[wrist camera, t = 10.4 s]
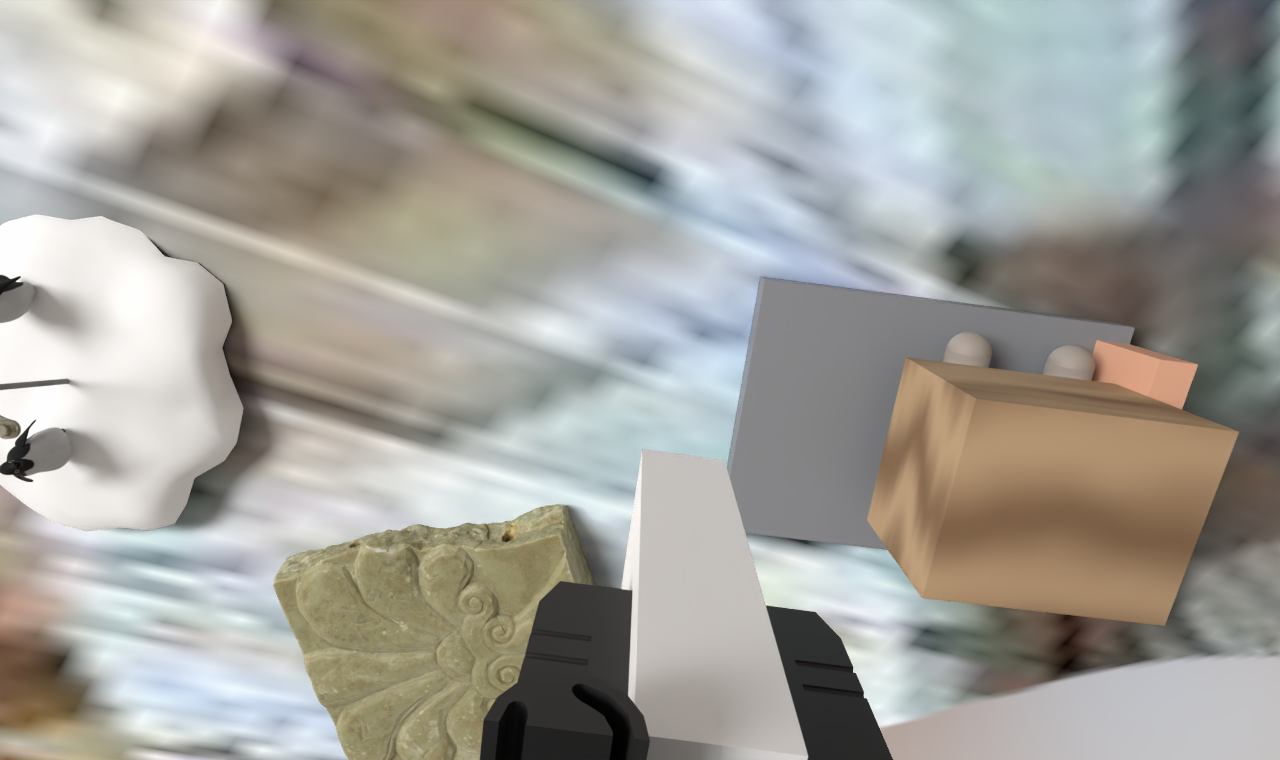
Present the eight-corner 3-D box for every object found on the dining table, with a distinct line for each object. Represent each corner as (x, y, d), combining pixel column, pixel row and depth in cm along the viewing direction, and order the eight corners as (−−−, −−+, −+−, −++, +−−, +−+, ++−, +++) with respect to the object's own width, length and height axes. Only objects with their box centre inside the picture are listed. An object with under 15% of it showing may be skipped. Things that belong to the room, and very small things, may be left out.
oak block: (896, 319, 39) (986, 361, 29) (1096, 345, 39) (1253, 395, 29) (848, 526, 42) (913, 628, 32) (1032, 548, 43) (1153, 655, 33)
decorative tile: (639, 708, 49) (639, 747, 45) (378, 765, 50) (359, 807, 46) (567, 477, 44) (561, 501, 40) (281, 546, 45) (251, 575, 42)
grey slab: (760, 276, 40) (783, 291, 34) (1117, 323, 41) (1204, 345, 34) (718, 519, 44) (730, 572, 38) (1042, 557, 45) (1108, 615, 38)
